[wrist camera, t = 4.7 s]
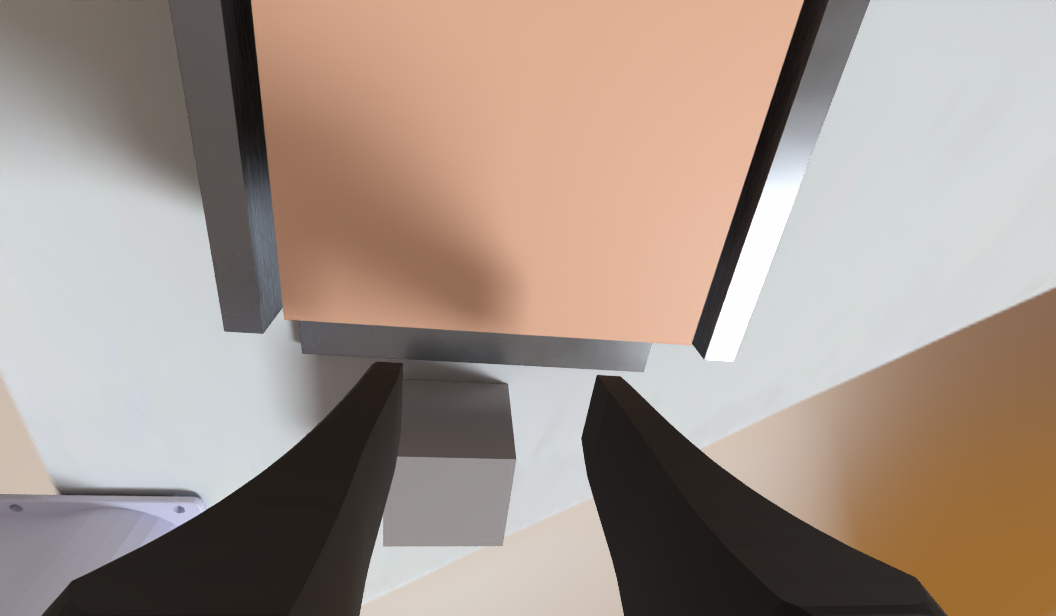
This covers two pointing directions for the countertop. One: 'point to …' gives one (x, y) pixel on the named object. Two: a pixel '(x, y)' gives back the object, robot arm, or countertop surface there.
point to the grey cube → (451, 466)
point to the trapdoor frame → (255, 300)
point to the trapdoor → (512, 158)
